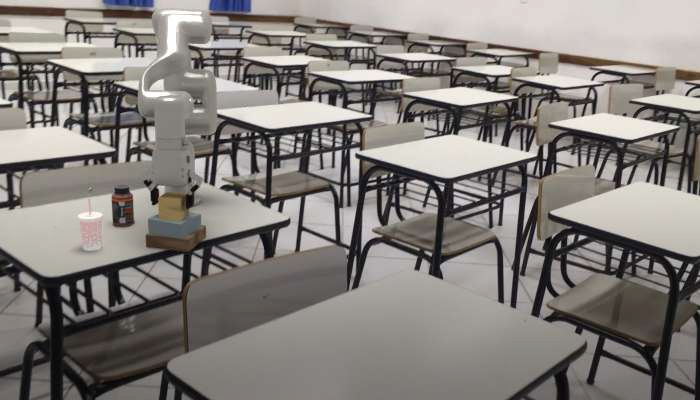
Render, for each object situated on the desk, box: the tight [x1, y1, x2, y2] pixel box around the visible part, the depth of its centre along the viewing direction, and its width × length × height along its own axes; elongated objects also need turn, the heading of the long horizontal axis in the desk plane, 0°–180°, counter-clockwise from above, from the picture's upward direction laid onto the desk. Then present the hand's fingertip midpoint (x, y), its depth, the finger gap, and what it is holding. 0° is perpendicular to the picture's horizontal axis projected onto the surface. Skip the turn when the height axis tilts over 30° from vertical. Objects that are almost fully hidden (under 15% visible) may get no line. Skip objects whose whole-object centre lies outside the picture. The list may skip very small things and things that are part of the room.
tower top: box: [147, 211, 202, 239], centre depth 187 cm, size 10×10×4 cm
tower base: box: [145, 224, 207, 253], centre depth 189 cm, size 12×12×4 cm
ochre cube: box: [157, 192, 190, 221], centre depth 185 cm, size 6×6×6 cm
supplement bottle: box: [111, 184, 135, 227], centre depth 200 cm, size 6×6×11 cm
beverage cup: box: [77, 196, 104, 252], centre depth 180 cm, size 6×6×14 cm
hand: (172, 205), depth 185 cm, fingers open, 9 cm apart
